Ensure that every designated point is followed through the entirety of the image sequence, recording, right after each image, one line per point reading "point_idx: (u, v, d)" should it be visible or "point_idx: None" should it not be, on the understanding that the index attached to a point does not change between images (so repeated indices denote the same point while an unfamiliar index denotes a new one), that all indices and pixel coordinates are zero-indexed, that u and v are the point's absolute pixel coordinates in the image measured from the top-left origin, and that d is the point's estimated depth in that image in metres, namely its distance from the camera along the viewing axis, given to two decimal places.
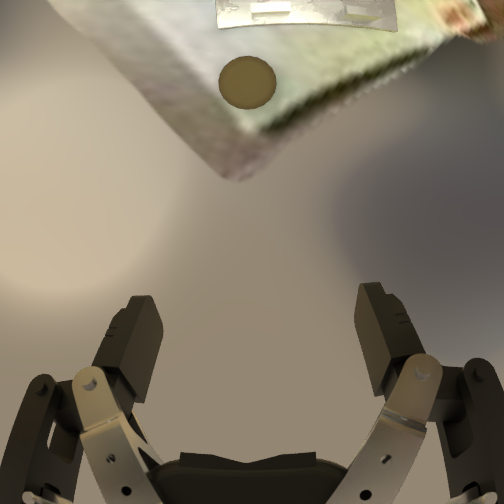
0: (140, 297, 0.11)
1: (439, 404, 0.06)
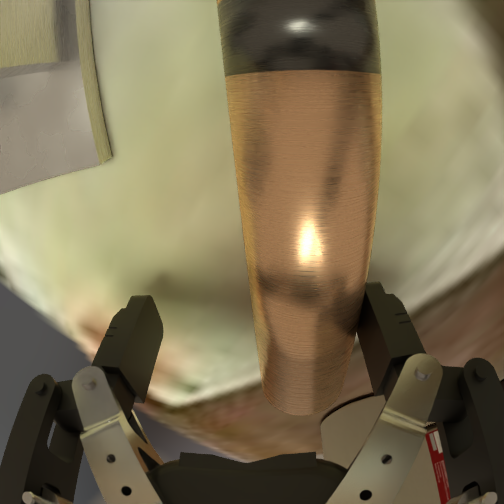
0: (140, 297, 0.11)
1: (439, 404, 0.06)
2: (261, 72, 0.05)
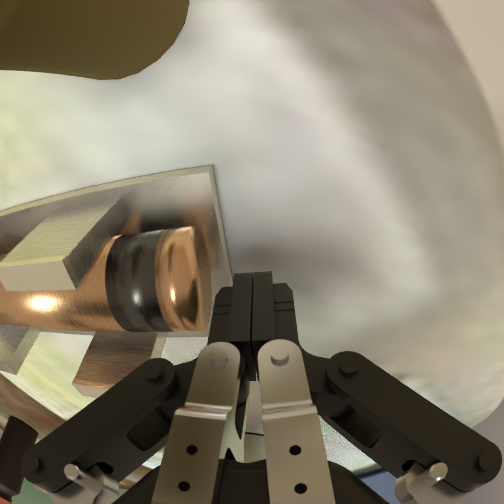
0: (245, 274, 0.11)
1: None
2: (115, 240, 0.11)
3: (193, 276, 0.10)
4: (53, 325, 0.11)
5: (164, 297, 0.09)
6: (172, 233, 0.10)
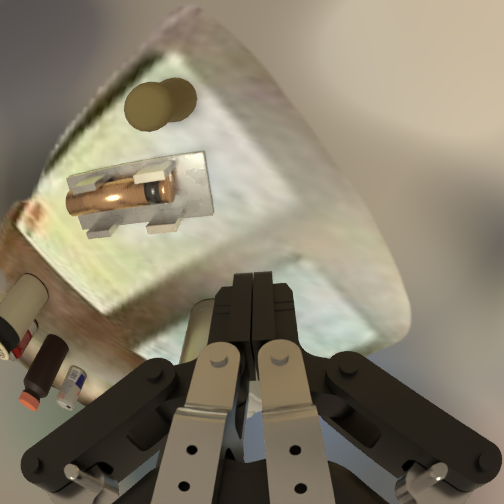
0: (245, 274, 0.11)
1: None
2: None
3: (168, 184, 0.36)
4: (121, 203, 0.36)
5: (160, 187, 0.35)
6: None
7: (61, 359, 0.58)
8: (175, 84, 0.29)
